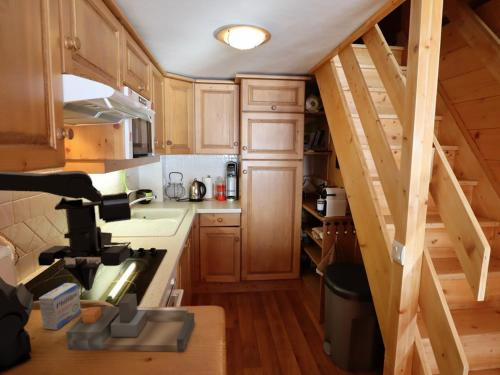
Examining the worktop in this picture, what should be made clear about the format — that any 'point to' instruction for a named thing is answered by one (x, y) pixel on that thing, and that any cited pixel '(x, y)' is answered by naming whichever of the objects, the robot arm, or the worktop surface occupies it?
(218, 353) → the worktop surface
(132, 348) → the rail
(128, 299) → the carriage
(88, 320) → the button
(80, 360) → the worktop surface
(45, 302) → the medicine box
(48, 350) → the worktop surface
